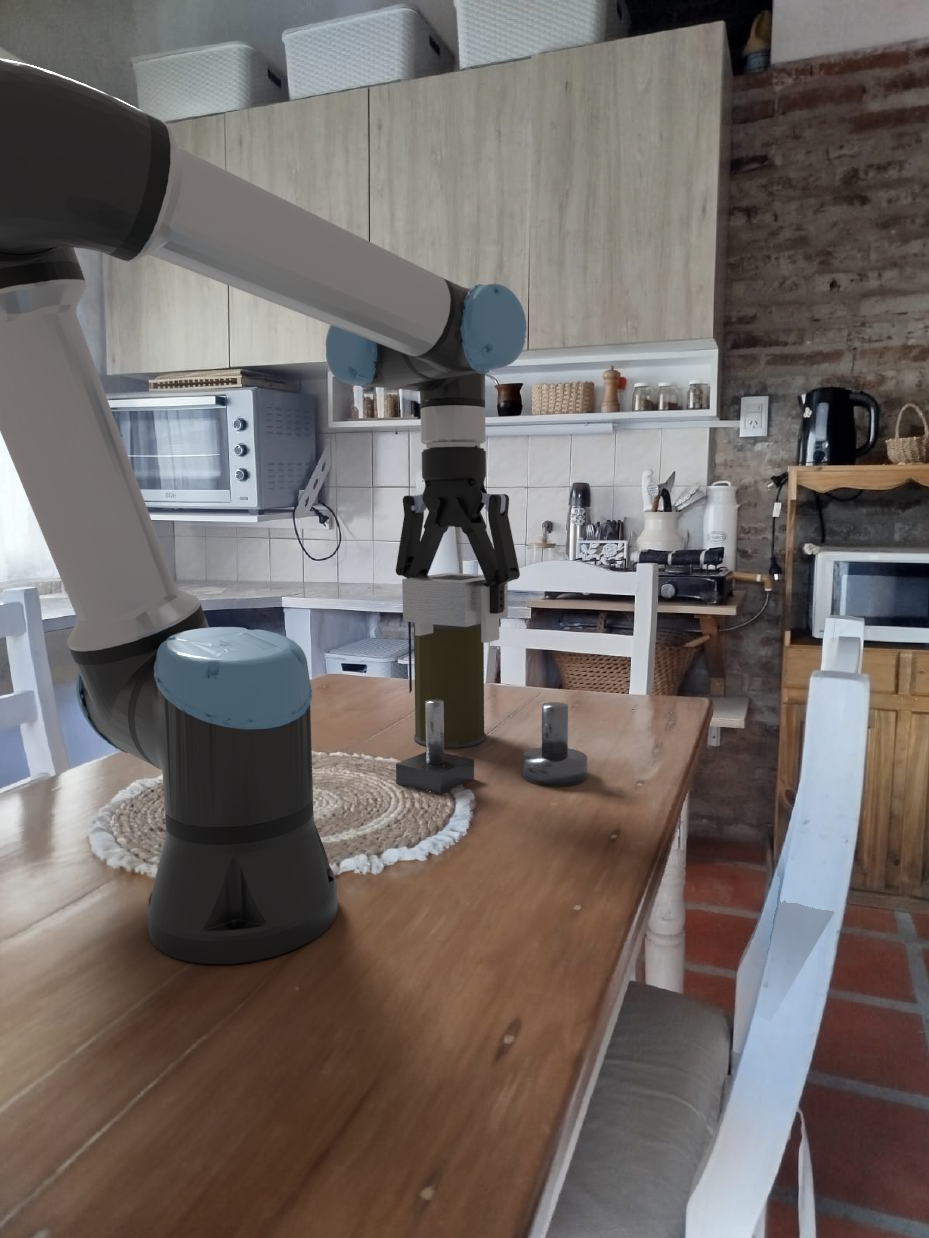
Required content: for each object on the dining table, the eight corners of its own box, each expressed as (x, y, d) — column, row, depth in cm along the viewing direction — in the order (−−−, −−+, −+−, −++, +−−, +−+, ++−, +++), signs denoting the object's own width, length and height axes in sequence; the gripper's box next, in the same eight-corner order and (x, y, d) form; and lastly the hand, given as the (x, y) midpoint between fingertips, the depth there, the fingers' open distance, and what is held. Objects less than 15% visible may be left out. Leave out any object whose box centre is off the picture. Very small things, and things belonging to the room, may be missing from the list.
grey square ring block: (465, 626, 95) (465, 582, 94) (403, 621, 100) (402, 579, 99) (507, 617, 102) (507, 576, 102) (447, 612, 107) (446, 573, 107)
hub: (567, 790, 99) (567, 716, 98) (510, 778, 104) (510, 707, 103) (598, 773, 106) (599, 703, 105) (543, 762, 111) (543, 695, 109)
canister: (488, 729, 127) (488, 597, 124) (483, 749, 116) (482, 605, 114) (416, 728, 128) (414, 596, 125) (405, 747, 117) (402, 605, 115)
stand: (440, 794, 99) (439, 710, 97) (396, 783, 103) (394, 703, 101) (474, 778, 104) (473, 699, 103) (430, 768, 108) (429, 692, 107)
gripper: (551, 443, 95) (551, 640, 98) (401, 451, 107) (405, 626, 111) (516, 440, 89) (517, 650, 92) (361, 449, 101) (367, 634, 105)
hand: (456, 637), depth 101 cm, fingers closed on grey square ring block, 9 cm apart
